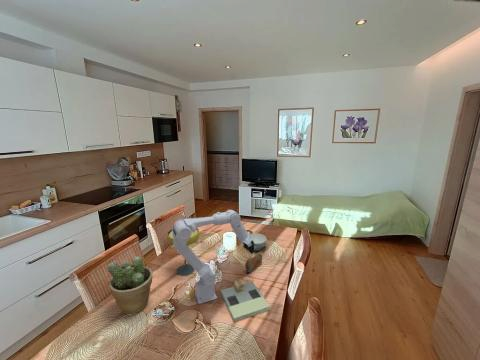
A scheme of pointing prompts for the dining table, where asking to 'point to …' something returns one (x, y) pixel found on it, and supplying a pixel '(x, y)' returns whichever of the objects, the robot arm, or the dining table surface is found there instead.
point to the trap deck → (244, 302)
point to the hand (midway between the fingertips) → (249, 248)
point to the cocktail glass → (185, 268)
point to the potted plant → (130, 285)
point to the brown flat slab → (253, 262)
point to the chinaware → (258, 240)
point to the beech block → (239, 285)
